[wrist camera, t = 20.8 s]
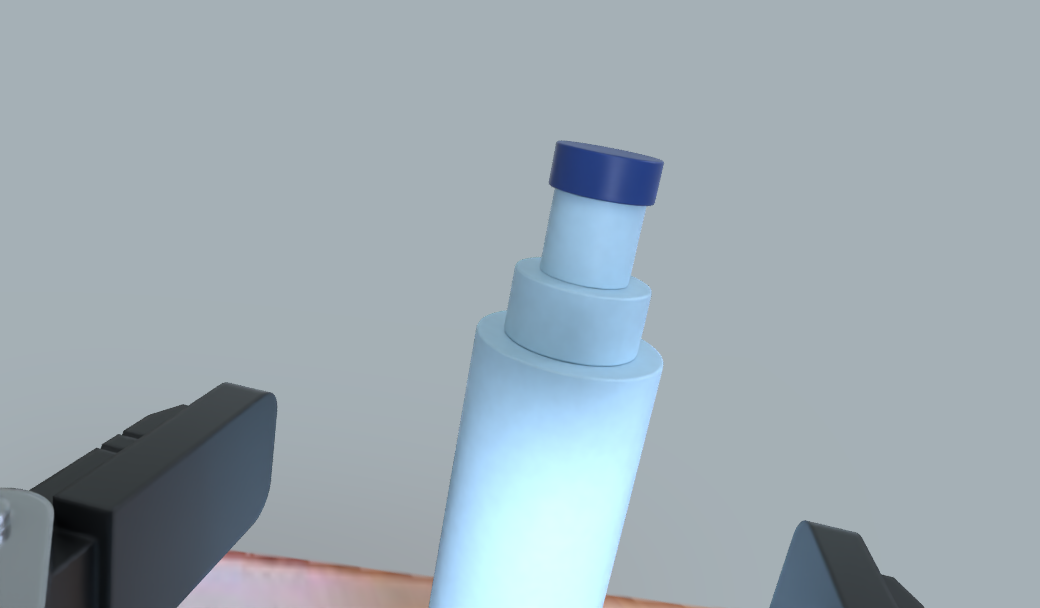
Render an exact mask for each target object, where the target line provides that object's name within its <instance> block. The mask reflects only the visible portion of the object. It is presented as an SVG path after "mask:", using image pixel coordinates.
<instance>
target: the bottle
mask: <svg viewBox="0 0 1040 608" xmlns="http://www.w3.org/2000/svg"><path fill="white" fill-rule="evenodd" d="M663 165H664V162H663V161H662V160H660V159H656V158H653V157H649V156H645V155H642V154H637V153H633V152H628V151H624V150H619V149H614V148H608V147H603V146H597V145H591V144H585V143H579V142H571V141H557V142H556V147H555V152H554V158H553V163H552V168H551V173H550V178H549V184H550V185H551V186H552V187H554V188H555V190H554V196H553V201H552V206H551V211H550V216H549V222H548V227H547V232H546V237H545V243H544V248H543V253H542V257H534V258H527V259H522V260H520V261H519V262H517V264H516V266H515V270H514V276H513V281H512V288H511V293H510V298H509V303H508V309H507V310H506V311H500V312H495V313H492V314H489V315H487V316H485V317H483V318H482V319H481V320H480V321H479V323H478V325H477V328H476V334H475V339H474V346H473V352H472V357H471V363H470V369H469V375H468V380H467V387H466V393H465V398H464V404H463V410H462V415H461V421H460V427H459V433H458V439H457V445H456V451H455V457H454V462H453V468H452V474H451V480H450V486H449V492H448V498H447V503H446V509H445V515H444V521H443V527H442V533H441V539H440V544H439V550H438V556H437V562H436V568H435V573H434V579H433V585H432V591H431V597H430V603H429V608H603V604H604V600H605V596H606V592H607V587H608V583H609V579H610V576H611V572H612V568H613V564H614V560H615V556H616V552H617V548H618V544H619V540H620V536H621V532H622V528H623V524H624V520H625V516H626V512H627V508H628V504H629V500H630V496H631V493H632V488H633V484H634V481H635V476H636V473H637V469H638V465H639V461H640V457H641V453H642V449H643V445H644V441H645V437H646V432H647V429H648V424H649V421H650V417H651V413H652V409H653V405H654V401H655V397H656V393H657V389H658V385H659V381H660V377H661V373H662V369H663V360H662V357H661V355H660V354H659V353H658V351H657V350H656V349H655V348H654V347H652V346H651V345H650V344H649V343H647V342H646V341H644V340H642V339H641V336H642V332H643V328H644V324H645V320H646V316H647V312H648V307H649V303H650V299H651V295H652V291H651V288H650V287H649V286H648V285H647V284H645V283H644V282H642V281H641V280H639V279H637V278H635V277H633V276H631V271H632V267H633V263H634V258H635V254H636V250H637V245H638V241H639V236H640V231H641V228H642V223H643V219H644V215H645V210H646V206H651V205H654V203H655V199H656V195H657V191H658V186H659V182H660V178H661V174H662V169H663Z"/></svg>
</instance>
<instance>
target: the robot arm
mask: <svg viewBox="0 0 1040 608" xmlns="http://www.w3.org/2000/svg"><path fill="white" fill-rule="evenodd" d="M276 417H277V401H276V397H275V395H274V394H273V393H270V392H266V391H262V390H257V389H253V388H249V387H245V386H241V385H236V384H232V383H227V382H225V383H222V384H220V385H219V386H217V387H216V388H214V389H213V390H211V391H210V392H208V393H207V394H205V395H204V396H202V397H201V398H199V399H198V400H196V401H195V402H193V403H192V404H190V405H189V406H187V405H179V406H176V407H173V408H170V409H167V410H163V411H160V412H157V413H154V414H150V415H148V416H146V417H145V418H143V419H142V420H140V421H139V422H137V423H135V424H134V425H132V426H131V427H129V428H127V429H126V430H124V431H123V434H122V435H120V434H118V435H116V436H115V437H113V438H112V439H110V440H108V441H107V442H105V443H104V444H102V447H101V449H99V448H96V449H94V450H92V451H91V452H89V453H88V454H86V455H84V456H83V457H81V458H80V459H78V460H77V461H75V462H73V463H72V464H70V465H69V466H67V467H66V468H64V469H62V470H61V471H59V472H57V473H56V474H54V475H53V476H51V477H50V478H48V479H47V480H45V481H43V482H42V483H40V484H38V485H37V486H36V487H34V488H32V489H30V490H29V491H28V490H23V489H16V488H0V608H177V607H178V605H179V604H180V603H181V602H182V601H183V600H184V599H185V598H186V597H187V596H188V595H189V594H190V592H191V591H192V590H193V589H194V588H195V587H196V586H197V585H198V584H199V583H200V582H201V580H202V579H203V578H204V577H205V576H206V575H207V574H208V573H209V572H210V571H211V570H212V569H213V567H214V566H215V565H216V564H217V563H218V562H219V561H220V560H221V559H222V558H223V557H224V556H225V554H226V553H227V552H228V551H229V550H230V549H231V548H232V547H233V546H234V545H235V544H236V542H237V541H238V540H239V539H240V538H241V537H242V536H243V535H244V534H245V533H246V532H247V531H248V529H249V528H250V527H251V526H252V525H253V524H254V523H255V521H256V520H257V519H258V517H259V515H260V513H261V512H262V509H263V507H264V505H265V502H266V499H267V497H268V493H269V489H270V482H271V472H272V462H273V451H274V440H275V429H276ZM770 608H924V606H923V605H922V604H921V603H920V602H919V601H918V600H917V599H915V597H913V596H912V595H911V594H910V593H909V592H908V591H907V590H906V589H905V588H904V587H903V586H902V585H901V584H900V583H899V582H898V581H897V580H896V579H895V578H893V577H889V576H885V575H881V573H880V571H879V569H878V567H877V566H876V564H875V562H874V560H873V558H872V556H871V554H870V552H869V550H868V548H867V546H866V545H865V543H864V541H863V539H862V537H861V536H860V535H859V534H858V533H856V532H852V531H847V530H843V529H839V528H835V527H830V526H826V525H822V524H818V523H814V522H810V521H802V522H801V523H800V524H799V525H798V526H797V528H796V530H795V532H794V535H793V538H792V541H791V544H790V547H789V550H788V553H787V556H786V559H785V562H784V565H783V568H782V571H781V574H780V577H779V580H778V583H777V586H776V589H775V592H774V595H773V599H772V602H771V604H770Z"/></svg>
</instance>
